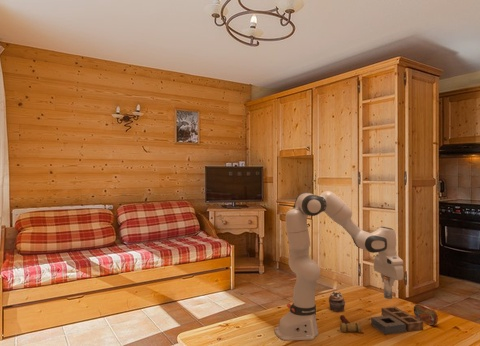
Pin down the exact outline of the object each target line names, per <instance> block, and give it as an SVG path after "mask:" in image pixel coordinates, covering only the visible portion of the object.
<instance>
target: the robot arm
mask: <svg viewBox="0 0 480 346" xmlns="http://www.w3.org/2000/svg"><path fill="white" fill-rule="evenodd" d="M292 208H293V209H292ZM292 208H291V209H289V210H288V211H286V214H285V229H286V237H287V241H288V250H289V251H288V254H289V255H288V256H289V257H288V267H289V268H290V270H291V272H293V273H294V274H295V277H296V281H295V283H294V287H293V289H292V291H293V292H292V294H293V297H292V300H293V302H292V304H291V303H287V304H286V307H287V308H288V309H289V311H288V312H286V313H285V314H284V315H283V316H281V318H280V319H279V322H278V326H276V327H275V326H274V333H276V334H277V335H276V334H275V335H276V336H277V337H278V338H279V339H280V340H282V341H310V340H311V341H313V340H314V339H315V338H316V337H317V336H318V335H319V329H318V325H317V324H318V323H317V317H316V315H317V306H316V288H317V287H316V286H317V282H318V280H319V278H320V276H321V271H322V270H321V268H320V266H319V264H318V263H317V261H315V260H314V259H312V258H311V257H310V246H311V238H310V234H309V227H308V223H307V222H308V218H309V217H315V216H318V215H319V214H321V213H322V212H323V213H324V214H326V216H327V217H329V218H330V219H331V220H332V221H333V222H334V223H336V224H338V225H339V226H341V227H342V228H343V229H344V230H345V231H346V232H347V233H348V234H349V235H350V237H351V238H352V241H353V243H354V245H355V246H356V247H357V248H358V249H361V250H363V251H365V252H369V253H373V254H375V253H376V254H375V256H374V259H373V271H374V272H377V273H379V274H380V277H381V282H382V283H384V276H388V277H390V279H391V280H390V282H389V285H390V286H392V287H393V286H394V282H395V281H402V280H403V279H404V275H405V274H404V266H403V265H404V260H403V259H402V258H400V256H399V255H398V254H397V250H396V248H397V247H396V246H397V234H396V232H395V229H393V228H391V227H386V226H379V227H378V229H376V230H375V231H374V230H373V232H369V231H367V230H364V229H361V228H360V227H359V226H358V225H357V224H356V223H355V222H354V221H353V219H352V216H353V211H352V209H351V208H350V206H349V205H348V204H347V203H346V202H345V201H344V200H343V199H342V198H341V197H339V196H338V195H337V194H335V193H334V192H332V190H331V191H330V190H325V191H323V192H321V194H319V195H316V194H313V193H310V192H302V193H300V194H299V195H297V196H296V198H295V201H294V204H293V207H292Z"/></svg>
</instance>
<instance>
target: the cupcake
mask: <svg viewBox="0 0 480 346" xmlns="http://www.w3.org/2000/svg"><path fill="white" fill-rule="evenodd" d="M344 298H345V297H344V296H343V294H342V292H336V291H333V292H332V293H331V294H330V295H329V298H328V303H329V309H330V310H331V311H332V312H336V313H342V312H344V311H345V306H346V301H345V300H344Z"/></svg>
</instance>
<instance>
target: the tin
mask: <svg viewBox="0 0 480 346" xmlns="http://www.w3.org/2000/svg"><path fill="white" fill-rule="evenodd" d="M413 314H414V317H415V318H417V319H418V320H420V321H422V322H423V324H426V325H428V326H434V325H437V324H438V319H439V318H438V314H437V312H436V311H435V310H434V309H432V308H431V307H428V306H426V305H425V304H421V303H420V304H415V305H414V307H413Z"/></svg>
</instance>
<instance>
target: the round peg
mask: <svg viewBox="0 0 480 346" xmlns="http://www.w3.org/2000/svg"><path fill="white" fill-rule="evenodd" d="M390 280H391V279H390V277H388V276H386V275H385V276H384V282H383V298H384V299H387V300H392V299H393V286H390V285H389V282H390Z"/></svg>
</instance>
